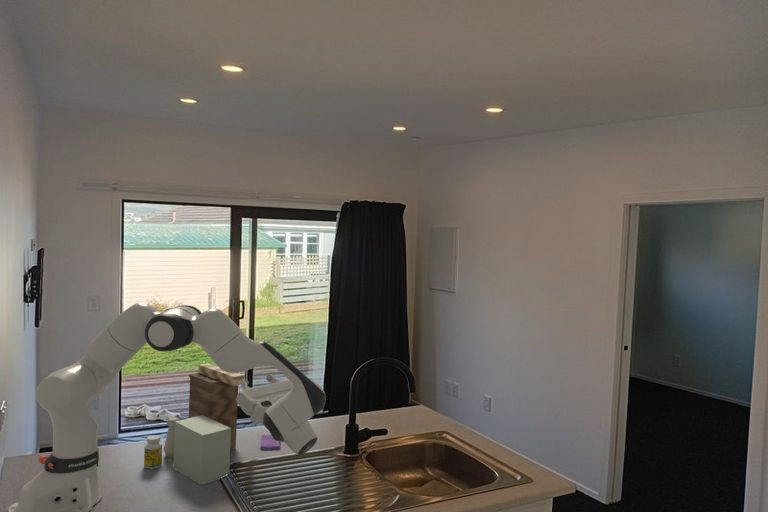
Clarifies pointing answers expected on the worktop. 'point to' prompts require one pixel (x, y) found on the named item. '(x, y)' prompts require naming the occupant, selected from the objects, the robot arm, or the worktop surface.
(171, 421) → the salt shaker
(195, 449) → the pale green block
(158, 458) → the supplement bottle
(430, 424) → the worktop surface
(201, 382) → the walnut block
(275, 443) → the sponges
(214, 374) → the beech bar
